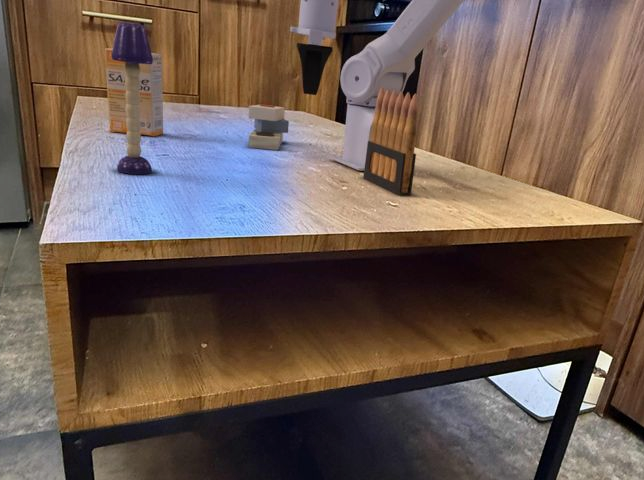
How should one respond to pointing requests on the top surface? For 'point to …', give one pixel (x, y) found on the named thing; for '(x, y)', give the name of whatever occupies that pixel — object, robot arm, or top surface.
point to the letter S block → (264, 140)
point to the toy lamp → (132, 90)
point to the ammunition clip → (392, 142)
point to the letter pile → (269, 119)
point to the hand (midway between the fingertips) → (310, 94)
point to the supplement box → (148, 93)
